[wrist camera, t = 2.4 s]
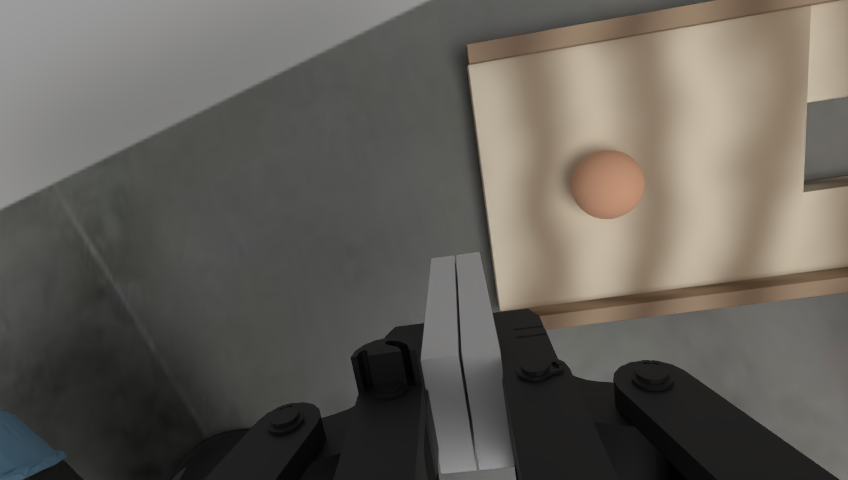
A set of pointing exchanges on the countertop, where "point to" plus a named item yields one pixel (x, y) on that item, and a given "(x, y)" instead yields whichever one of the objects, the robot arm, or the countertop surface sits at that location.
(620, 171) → the ball
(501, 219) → the wooden tray
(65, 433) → the countertop surface
